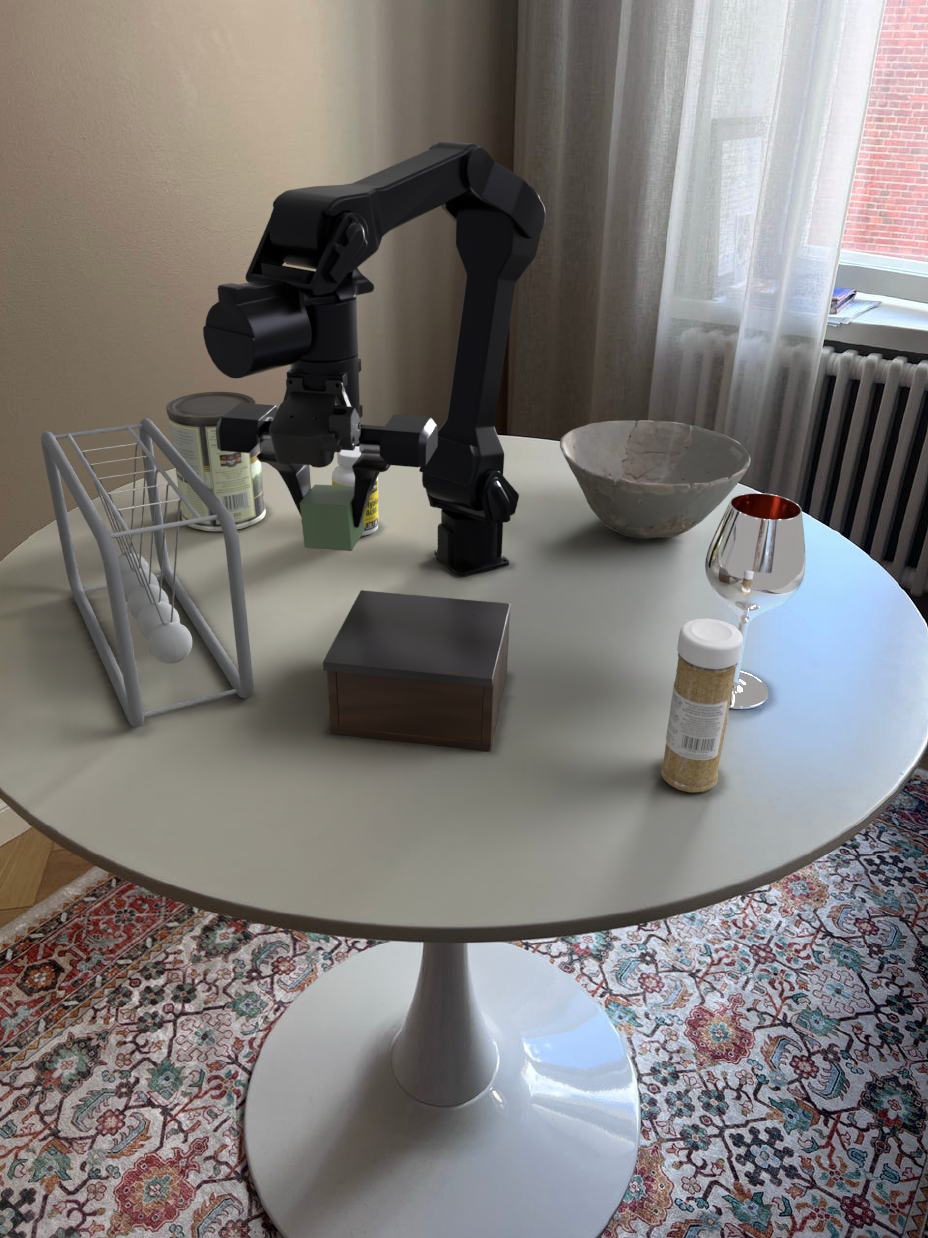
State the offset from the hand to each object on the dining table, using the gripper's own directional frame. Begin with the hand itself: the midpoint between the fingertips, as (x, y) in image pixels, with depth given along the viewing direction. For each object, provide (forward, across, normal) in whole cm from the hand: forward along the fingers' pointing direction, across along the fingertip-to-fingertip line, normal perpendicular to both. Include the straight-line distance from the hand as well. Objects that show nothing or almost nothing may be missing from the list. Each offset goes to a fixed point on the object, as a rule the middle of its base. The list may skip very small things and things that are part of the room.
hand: (332, 523), depth 91 cm
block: (+2, 0, 0) cm, 2 cm away
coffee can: (+12, -22, +26) cm, 36 cm away
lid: (+5, +11, -10) cm, 16 cm away
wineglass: (+12, +38, -2) cm, 40 cm away
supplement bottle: (+12, -5, +25) cm, 29 cm away
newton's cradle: (+12, -17, -5) cm, 21 cm away
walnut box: (+12, +11, -10) cm, 19 cm away
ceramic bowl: (+12, +29, +34) cm, 46 cm away
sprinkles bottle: (+12, +34, -16) cm, 39 cm away
